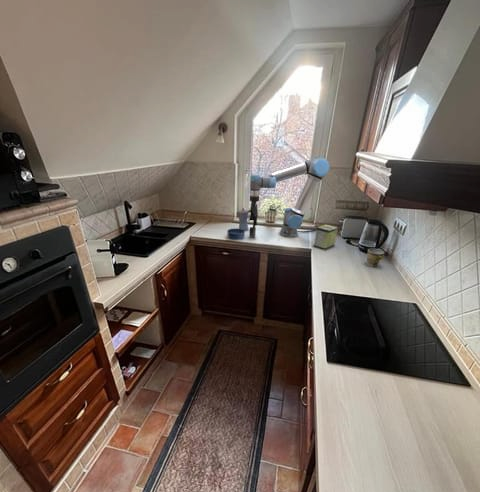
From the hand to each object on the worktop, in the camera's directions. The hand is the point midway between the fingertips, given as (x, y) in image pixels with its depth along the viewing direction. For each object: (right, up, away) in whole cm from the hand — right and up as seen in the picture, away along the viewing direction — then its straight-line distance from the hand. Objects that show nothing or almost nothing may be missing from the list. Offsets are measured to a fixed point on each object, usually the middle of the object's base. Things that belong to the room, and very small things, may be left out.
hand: (253, 222), depth 209 cm
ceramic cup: (+81, -39, -35) cm, 96 cm away
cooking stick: (-1, -11, +6) cm, 13 cm away
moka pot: (-8, -1, +25) cm, 26 cm away
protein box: (+57, -20, -5) cm, 60 cm away
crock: (-1, -12, +7) cm, 13 cm away
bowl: (-15, -11, +6) cm, 20 cm away
